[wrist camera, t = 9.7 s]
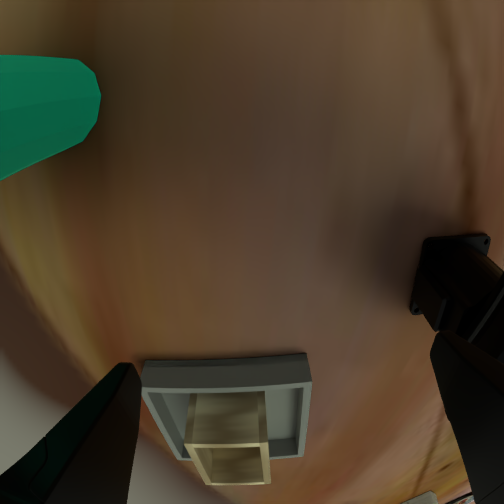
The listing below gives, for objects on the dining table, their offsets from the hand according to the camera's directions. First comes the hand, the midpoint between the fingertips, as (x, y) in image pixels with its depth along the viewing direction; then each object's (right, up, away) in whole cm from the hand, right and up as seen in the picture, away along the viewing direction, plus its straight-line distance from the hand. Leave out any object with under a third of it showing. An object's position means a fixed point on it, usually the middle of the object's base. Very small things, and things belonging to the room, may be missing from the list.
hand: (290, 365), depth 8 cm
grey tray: (-3, -11, +19) cm, 23 cm away
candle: (-13, +12, +7) cm, 19 cm away
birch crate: (-3, -12, +19) cm, 22 cm away
